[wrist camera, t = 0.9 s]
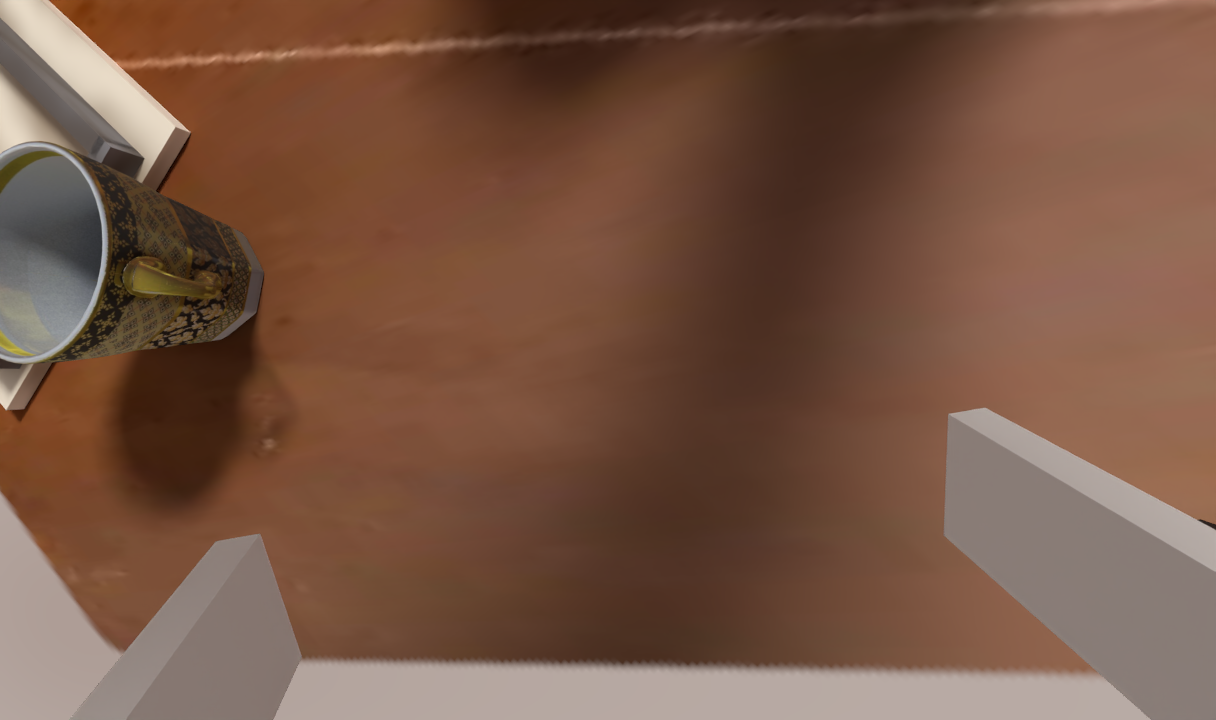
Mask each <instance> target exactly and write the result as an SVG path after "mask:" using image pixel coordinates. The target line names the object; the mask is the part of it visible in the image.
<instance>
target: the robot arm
mask: <svg viewBox="0 0 1216 720" xmlns="http://www.w3.org/2000/svg"><path fill="white" fill-rule="evenodd" d="M944 536H945V537H946V538H947V539H948V540H950V541H951V542H952V543H953V544H954V545H955V546H956V547H957V548H959V549H960V550H961V551H962V552H963V553H964V554H965V555H966V556H968V557H969V558H970V559H971V560H972V561H973V562H974V563H975V564H977V565H978V566H979V567H980V568H981V569H982V570H983V571H984V572H986V573H987V574H988V575H989V576H990V577H991V578H992V579H993V580H995V581H996V582H997V583H998V584H999V585H1000V586H1001V587H1002V588H1004V589H1005V590H1006V591H1007V592H1008V593H1009V594H1010V595H1011V596H1013V597H1014V598H1015V599H1016V600H1017V601H1018V602H1019V603H1020V604H1022V605H1023V606H1024V607H1025V608H1026V609H1027V610H1028V611H1029V612H1031V613H1032V614H1033V615H1034V616H1035V617H1036V618H1037V619H1038V620H1040V621H1041V622H1042V623H1043V624H1044V625H1045V626H1046V627H1047V628H1049V629H1050V630H1051V631H1052V632H1053V633H1054V634H1055V635H1056V636H1058V637H1059V638H1060V639H1061V640H1062V641H1063V642H1064V643H1065V644H1067V645H1068V646H1069V647H1070V648H1071V649H1072V650H1073V651H1074V652H1076V653H1077V654H1078V655H1079V656H1080V657H1081V658H1082V659H1084V660H1085V661H1086V662H1087V663H1088V664H1089V665H1090V666H1091V667H1093V668H1094V669H1095V670H1096V671H1097V672H1098V673H1099V674H1100V675H1102V676H1103V677H1104V678H1105V679H1106V680H1107V681H1108V682H1109V683H1111V684H1112V685H1113V686H1114V687H1115V688H1116V689H1117V690H1119V691H1120V692H1121V693H1122V694H1123V695H1124V696H1125V697H1126V698H1127V699H1129V700H1130V701H1131V702H1132V703H1133V704H1134V705H1135V706H1136V707H1138V708H1139V709H1140V710H1141V711H1142V712H1143V713H1144V714H1146V715H1147V716H1148V717H1149V718H1150V719H1151V720H1216V525H1215V524H1212V523H1209V522H1206V521H1203V520H1196V519H1194V518H1192V517H1190V516H1188V515H1187V514H1185V513H1183V512H1181V511H1179V510H1177V509H1175V508H1173V507H1171V506H1170V505H1168V504H1166V503H1164V502H1162V501H1160V500H1158V499H1156V498H1154V497H1153V496H1151V495H1149V494H1147V493H1145V492H1143V491H1141V490H1139V489H1137V488H1136V487H1134V486H1132V485H1130V484H1128V483H1126V482H1124V481H1122V480H1121V479H1119V478H1117V477H1115V476H1113V475H1111V474H1109V473H1107V472H1105V471H1104V470H1102V469H1100V468H1098V467H1096V466H1094V465H1092V464H1090V463H1088V462H1087V461H1085V460H1083V459H1081V458H1079V457H1077V456H1075V455H1073V454H1071V453H1070V452H1068V451H1066V450H1064V449H1062V448H1060V447H1058V446H1056V445H1054V444H1053V443H1051V442H1049V441H1047V440H1045V439H1043V438H1041V437H1039V436H1037V435H1036V434H1034V433H1032V432H1030V431H1028V430H1026V429H1024V428H1022V427H1020V426H1019V425H1017V424H1015V423H1013V422H1011V421H1009V420H1007V419H1005V418H1003V417H1002V416H1000V415H998V414H996V413H994V412H992V411H990V410H988V409H986V408H981V409H975V410H969V411H963V412H958V413H952V414H948V436H947V463H946V490H945V517H944ZM301 657H302V656H301V653H300V650H299V647H298V644H297V641H296V638H295V635H294V632H293V629H292V627H291V624H290V621H289V618H288V615H287V612H286V609H285V606H284V603H283V600H282V597H281V594H280V591H279V588H278V585H277V582H276V579H275V576H274V573H273V570H272V567H271V565H270V562H269V559H268V556H267V553H266V550H265V547H264V544H263V541H262V538H261V535H260V534H255V535H250V536H244V537H238V538H232V539H227V540H221V541H216V542H215V543H214V545H213V546H212V547H211V548H210V549H209V551H208V552H207V553H206V554H205V555H204V557H203V558H202V559H201V560H200V562H199V563H198V564H197V565H196V566H195V568H194V569H193V570H192V571H191V572H190V574H189V575H188V576H187V577H186V578H185V580H184V581H183V582H182V583H181V585H180V586H179V587H178V588H177V589H176V591H175V592H174V593H173V594H172V595H171V597H170V598H169V599H168V600H167V602H166V603H165V604H164V605H163V606H162V608H161V609H160V610H159V611H158V612H157V614H156V615H155V616H154V617H153V619H152V620H151V621H150V622H149V623H148V625H147V626H146V627H145V628H144V629H143V631H142V632H141V633H140V634H139V635H138V637H137V638H136V639H135V640H134V642H133V643H132V644H131V645H130V646H129V648H128V649H127V650H126V651H125V652H124V654H123V655H122V656H121V657H120V659H119V660H118V661H117V662H116V663H115V665H114V666H113V667H112V668H111V669H110V671H109V672H108V673H107V674H106V676H105V677H104V678H103V679H102V681H101V682H100V683H99V684H98V685H97V686H96V688H95V689H94V690H93V692H92V693H91V694H90V695H89V696H88V698H87V699H86V700H85V701H84V702H83V704H82V705H81V706H80V707H79V708H78V710H77V711H76V712H75V713H74V714H73V716H72V717H71V718H70V719H69V720H273V719H274V717H275V714H276V712H277V710H278V708H279V706H280V703H281V701H282V699H283V697H284V694H285V692H286V690H287V688H288V685H289V684H290V682H291V679H292V677H293V675H294V673H295V671H296V668H297V666H298V664H299V662H300V660H301Z"/></svg>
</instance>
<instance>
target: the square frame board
mask: <svg viewBox="0 0 1216 720" xmlns="http://www.w3.org/2000/svg"><path fill="white" fill-rule="evenodd" d="M190 134H191V132H189V131H188V130H187V129H186V128H185V127H184V126H183V125H182V124H181V123H180V122H179V121H178V120H177V119H175V118H174V117H173V116H172V115H171V114H170V113H169V112H168V111H167V110H166V109H165V108H164V107H163V106H161V105H160V104H159V103H158V102H157V101H156V100H155V99H154V98H153V97H152V96H151V95H150V94H149V93H147V92H146V91H145V90H144V89H143V88H142V87H141V86H140V85H139V84H138V83H137V82H136V81H135V80H134V79H132V78H131V77H130V76H129V75H128V74H127V73H126V72H125V71H124V70H123V69H122V68H121V67H120V66H118V65H117V64H116V63H115V62H114V61H113V60H112V59H111V58H110V57H109V56H108V55H107V54H106V53H104V52H103V51H102V50H101V49H100V48H99V47H98V46H97V45H96V44H95V43H94V42H93V41H92V40H91V39H89V38H88V37H87V36H86V35H85V34H84V33H83V32H82V31H81V30H80V29H79V28H78V27H77V26H75V25H74V24H73V23H72V22H71V21H70V20H69V19H68V18H67V17H66V16H65V15H64V14H63V13H61V12H60V11H59V10H58V9H57V8H56V7H55V6H54V5H53V4H52V3H51V2H50V1H49V0H0V154H1V153H2V152H3V151H5V150H7V149H9V148H11V147H13V146H15V145H18V144H21V143H25V142H31V141H45V142H51V143H55V144H58V145H60V146H63V147H65V148H68V149H70V150H72V151H75V152H77V153H80V154H82V155H84V156H86V157H89V158H91V159H93V160H95V161H98V162H100V163H102V164H104V165H106V166H108V167H110V168H112V169H115V170H117V171H119V172H121V173H123V174H125V175H127V176H129V177H131V178H133V179H135V180H137V181H139V182H141V183H142V184H144V185H146V186H148V187H149V188H151V189H153V190H155V191H156V190H157V188H158V187H159V185H160V183H161V182H162V180H163V178H164V177H165V175H166V173H167V172H168V170H169V168H170V167H171V165H172V163H173V162H174V160H175V158H176V157H177V155H178V153H179V152H180V150H181V148H182V147H183V145H184V143H185V142H186V140H187V138H188V137H189V135H190ZM51 364H52V362H50V363H36V364H18V363H13V362H9V361H6V360H3V359H1V358H0V403H1V404H2V406H3V407H4V408H5V409H6V410H19V409H24V408H25V407H26V405H27V404H28V402H29V400H30V399H31V397H32V395H33V394H34V392H35V390H36V389H37V387H38V385H39V384H40V382H41V380H42V379H43V377H44V375H45V374H46V372H47V370H48V369H49V367H50V365H51Z"/></svg>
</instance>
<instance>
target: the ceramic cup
mask: <svg viewBox="0 0 1216 720" xmlns="http://www.w3.org/2000/svg"><path fill="white" fill-rule="evenodd" d="M263 276H264V272H263V269H262V267H261V265H260V263H259V261H258V259H257V257H256V256H255V254H254V252H253V250H252V248H251V246H250V244H249V242H248V240H247V238H246V237H245V236H244V235H243V233H241V232H240V231H238V230H235V229H233V228H231V227H230V226H228V225H226V224H223V223H221V222H219V221H216V220H214V219H212V218H210V217H208V216H206V215H204V214H202V213H200V212H198V211H196V210H194V209H191V208H189V207H187V206H185V205H183V204H181V203H179V202H177V201H174V200H172V199H170V198H168V197H165V196H163V195H162V194H160V193H158V192H156V191H155V190H153V189H151V188H149V187H148V186H146V185H144V184H142V183H141V182H139V181H137V180H135V179H133V178H131V177H129V176H127V175H125V174H123V173H121V172H119V171H117V170H115V169H112V168H110V167H108V166H106V165H104V164H102V163H100V162H98V161H95V160H93V159H91V158H89V157H86V156H84V155H82V154H80V153H77V152H75V151H72V150H70V149H68V148H65V147H63V146H60V145H58V144H55V143H51V142H45V141H31V142H25V143H21V144H18V145H15V146H13V147H11V148H9V149H7V150H5V151H3V152H2V153H1V154H0V358H1V359H3V360H6V361H9V362H13V363H18V364H36V363H50V362H63V361H72V360H80V359H88V358H96V357H104V356H110V355H115V354H121V353H126V352H130V351H135V350H144V349H155V348H162V347H169V346H177V345H184V344H192V343H201V342H208V341H214V340H221V339H223V338H225V337H227V336H228V335H230V334H231V333H232V332H233V331H235V330H236V329H237V328H238V327H240V326H241V325H242V324H243V323H244V322H246V321H247V320H248V319H249V318H251V317H252V316H253V315H254V314H255V313H256V312H257V307H258V302H259V297H260V292H261V286H262V281H263Z"/></svg>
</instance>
